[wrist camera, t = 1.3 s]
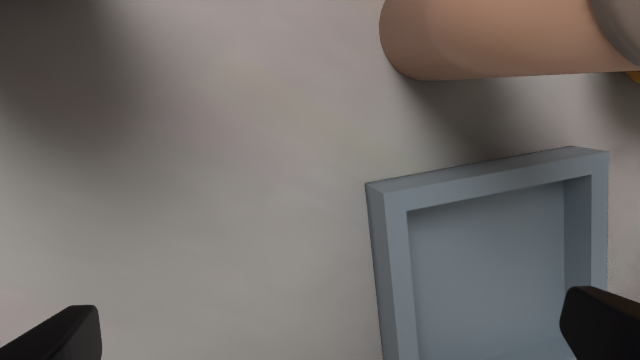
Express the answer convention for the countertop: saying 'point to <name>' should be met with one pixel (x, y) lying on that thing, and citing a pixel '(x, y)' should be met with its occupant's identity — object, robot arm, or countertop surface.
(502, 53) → the jar
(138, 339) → the countertop surface
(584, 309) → the robot arm
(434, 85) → the countertop surface
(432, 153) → the countertop surface
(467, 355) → the tray
